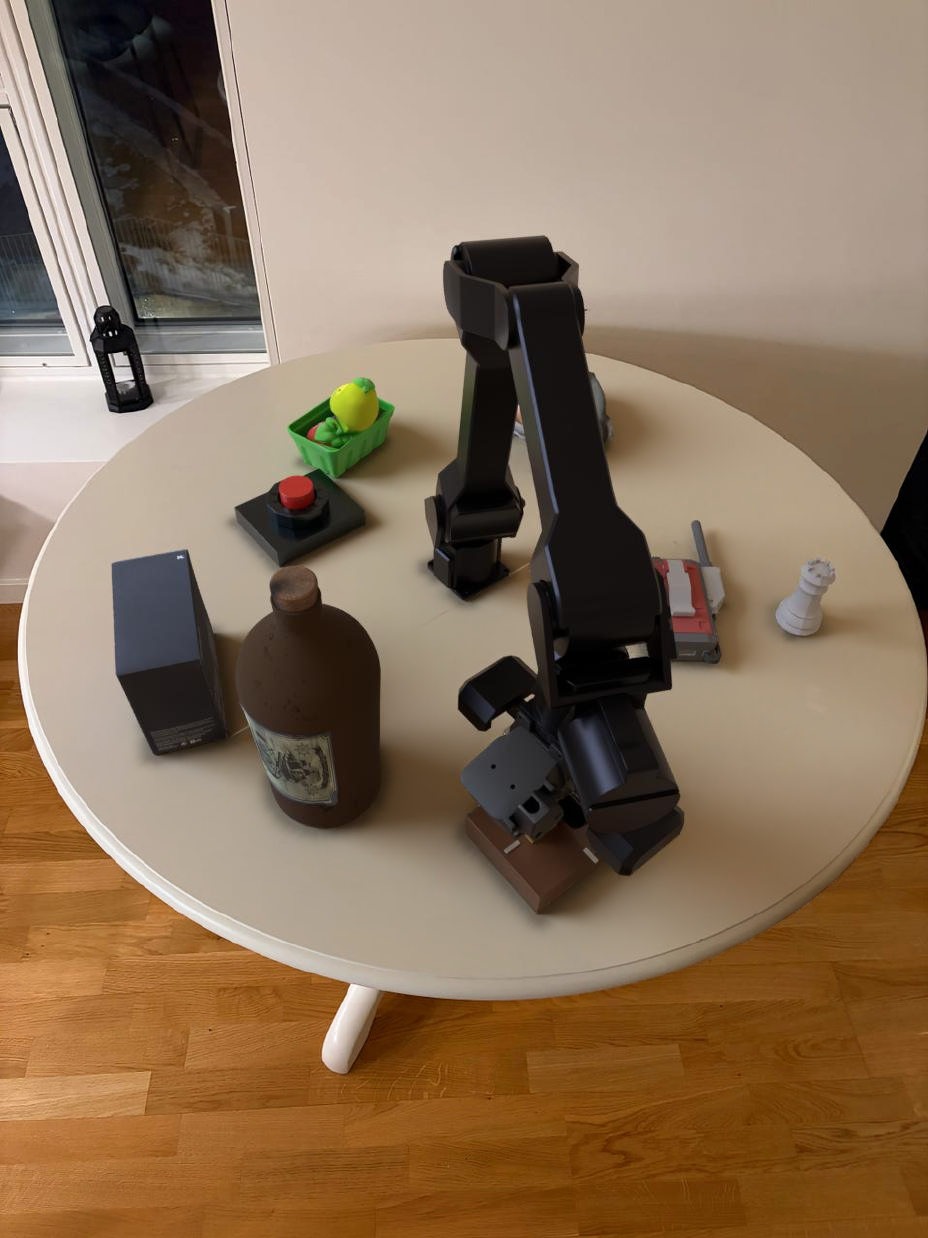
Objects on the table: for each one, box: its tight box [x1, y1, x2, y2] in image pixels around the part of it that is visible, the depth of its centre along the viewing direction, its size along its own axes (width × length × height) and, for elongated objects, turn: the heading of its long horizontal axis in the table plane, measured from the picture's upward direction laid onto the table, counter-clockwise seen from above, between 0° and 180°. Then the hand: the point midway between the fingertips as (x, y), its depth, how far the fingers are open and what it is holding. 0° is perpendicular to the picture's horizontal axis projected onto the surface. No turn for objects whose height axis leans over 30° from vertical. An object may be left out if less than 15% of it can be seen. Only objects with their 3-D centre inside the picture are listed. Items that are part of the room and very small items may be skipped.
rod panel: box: [464, 804, 604, 915], centre depth 74 cm, size 11×10×3 cm
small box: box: [111, 548, 229, 756], centre depth 80 cm, size 13×7×12 cm, turn 16°
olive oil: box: [235, 565, 382, 828], centre depth 69 cm, size 11×11×25 cm
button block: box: [233, 468, 366, 568], centre depth 98 cm, size 11×9×4 cm
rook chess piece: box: [775, 557, 837, 637], centre depth 89 cm, size 4×4×8 cm
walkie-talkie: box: [645, 519, 726, 666], centre depth 92 cm, size 9×4×20 cm
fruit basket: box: [286, 376, 396, 479], centre depth 104 cm, size 11×9×11 cm
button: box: [279, 474, 315, 509], centre depth 96 cm, size 4×4×2 cm
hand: (553, 813), depth 73 cm, fingers closed, pressing on rod knob
